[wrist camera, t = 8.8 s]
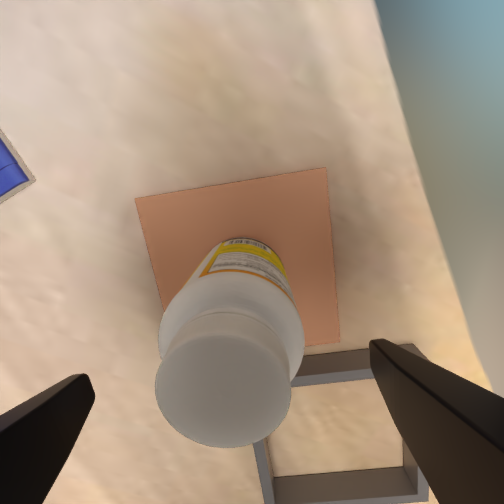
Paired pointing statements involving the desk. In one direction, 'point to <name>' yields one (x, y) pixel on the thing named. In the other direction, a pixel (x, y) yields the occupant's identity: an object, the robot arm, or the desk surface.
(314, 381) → the square frame
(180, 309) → the supplement bottle
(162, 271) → the pad
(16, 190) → the hard drive
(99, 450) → the desk surface
